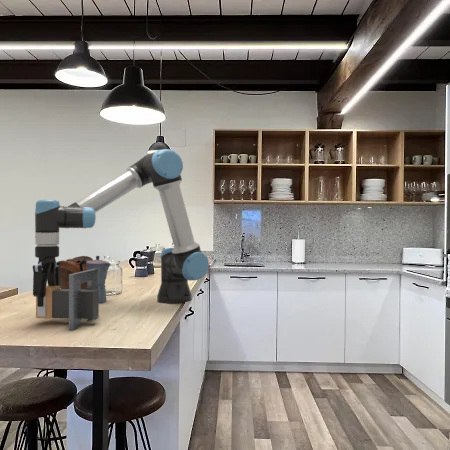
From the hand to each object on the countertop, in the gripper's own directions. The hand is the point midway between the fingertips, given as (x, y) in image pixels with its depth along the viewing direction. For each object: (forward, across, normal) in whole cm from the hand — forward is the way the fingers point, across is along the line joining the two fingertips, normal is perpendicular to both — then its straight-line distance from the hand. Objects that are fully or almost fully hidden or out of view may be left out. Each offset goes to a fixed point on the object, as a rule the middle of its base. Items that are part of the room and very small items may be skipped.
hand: (46, 314), depth 140 cm
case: (+3, -60, -19) cm, 63 cm away
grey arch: (+3, 0, +13) cm, 14 cm away
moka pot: (+3, -39, 0) cm, 39 cm away
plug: (+1, 0, +8) cm, 8 cm away
